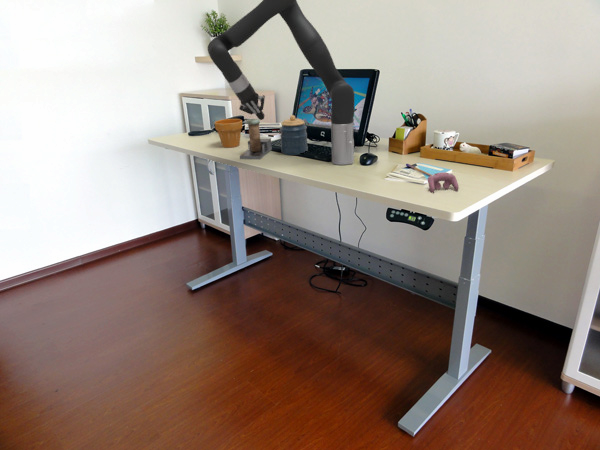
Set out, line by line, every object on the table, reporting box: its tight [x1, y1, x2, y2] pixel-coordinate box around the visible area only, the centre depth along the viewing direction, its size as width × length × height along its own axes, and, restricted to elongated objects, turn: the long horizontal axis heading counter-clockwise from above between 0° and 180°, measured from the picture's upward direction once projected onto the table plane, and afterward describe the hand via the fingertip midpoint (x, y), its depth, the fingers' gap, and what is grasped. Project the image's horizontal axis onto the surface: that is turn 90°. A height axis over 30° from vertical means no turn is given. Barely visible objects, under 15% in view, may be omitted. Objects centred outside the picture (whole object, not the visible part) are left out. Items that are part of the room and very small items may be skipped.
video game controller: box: [427, 171, 460, 193], centre depth 143 cm, size 10×5×7 cm, turn 93°
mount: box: [239, 138, 273, 160], centre depth 200 cm, size 10×18×6 cm, turn 166°
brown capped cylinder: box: [246, 118, 261, 152], centre depth 198 cm, size 6×6×15 cm
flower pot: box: [214, 118, 243, 149], centre depth 217 cm, size 14×14×13 cm
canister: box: [279, 114, 309, 156], centre depth 198 cm, size 13×13×18 cm
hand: (262, 118), depth 181 cm, fingers closed
